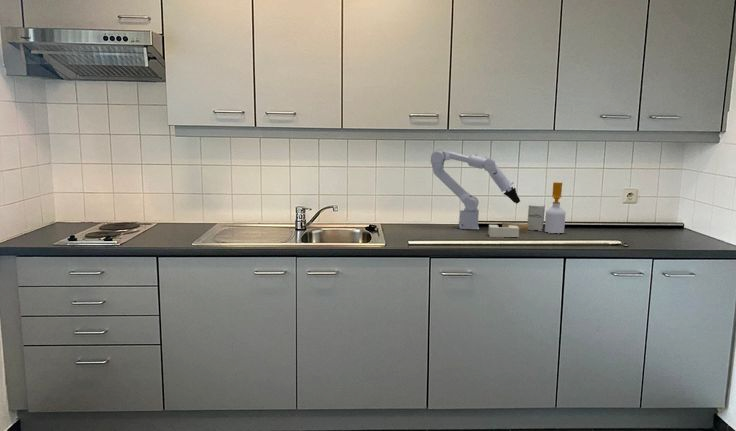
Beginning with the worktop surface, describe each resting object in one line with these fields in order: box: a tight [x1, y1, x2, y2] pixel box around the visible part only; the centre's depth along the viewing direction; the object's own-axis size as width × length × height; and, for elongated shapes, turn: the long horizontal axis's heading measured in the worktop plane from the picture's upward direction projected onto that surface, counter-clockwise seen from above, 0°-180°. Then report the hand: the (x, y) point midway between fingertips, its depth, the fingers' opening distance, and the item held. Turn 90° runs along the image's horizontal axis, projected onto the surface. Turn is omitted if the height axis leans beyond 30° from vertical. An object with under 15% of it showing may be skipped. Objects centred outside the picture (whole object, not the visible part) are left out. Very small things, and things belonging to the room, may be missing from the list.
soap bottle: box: [544, 181, 566, 235], centre depth 266 cm, size 9×9×25 cm
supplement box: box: [526, 203, 546, 232], centre depth 274 cm, size 7×7×13 cm
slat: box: [501, 222, 529, 233], centre depth 268 cm, size 4×12×4 cm, turn 83°
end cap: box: [487, 224, 520, 238], centre depth 257 cm, size 13×7×4 cm, turn 83°
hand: (517, 202), depth 268 cm, fingers open, 7 cm apart
